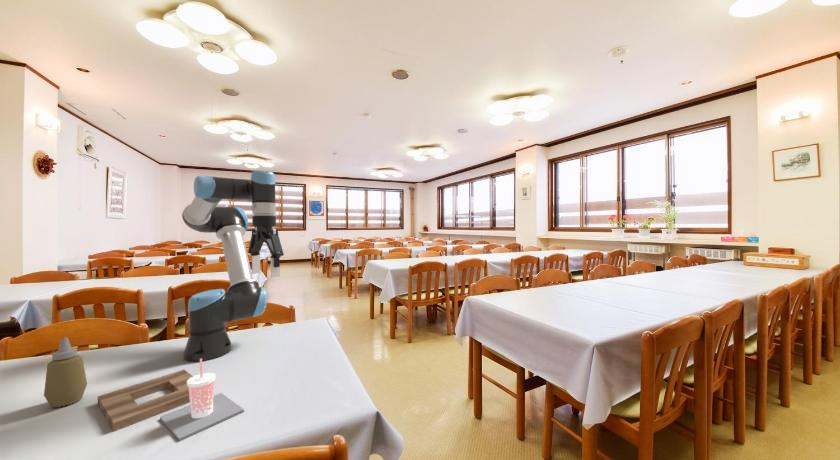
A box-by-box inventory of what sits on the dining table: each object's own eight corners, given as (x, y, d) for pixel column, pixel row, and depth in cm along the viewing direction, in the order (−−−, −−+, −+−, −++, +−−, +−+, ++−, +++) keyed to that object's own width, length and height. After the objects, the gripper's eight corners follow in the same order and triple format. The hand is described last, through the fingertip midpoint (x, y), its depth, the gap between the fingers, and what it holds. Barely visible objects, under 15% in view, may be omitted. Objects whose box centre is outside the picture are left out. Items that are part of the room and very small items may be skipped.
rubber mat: (160, 419, 81) (160, 416, 81) (221, 394, 92) (221, 392, 92) (179, 441, 72) (179, 438, 72) (243, 411, 84) (243, 409, 84)
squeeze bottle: (65, 395, 93) (63, 333, 92) (95, 393, 93) (93, 332, 93) (34, 411, 85) (32, 344, 84) (67, 410, 85) (65, 342, 85)
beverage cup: (221, 409, 84) (220, 356, 83) (197, 422, 78) (195, 365, 78) (207, 404, 86) (205, 352, 86) (182, 416, 81) (180, 361, 80)
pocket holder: (97, 403, 88) (97, 396, 88) (184, 375, 104) (183, 369, 104) (114, 431, 76) (113, 422, 76) (208, 394, 92) (208, 387, 92)
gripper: (237, 215, 118) (238, 273, 119) (271, 214, 103) (273, 279, 104) (257, 216, 124) (259, 270, 125) (293, 214, 109) (294, 276, 110)
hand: (265, 275), depth 114 cm, fingers open, 13 cm apart
